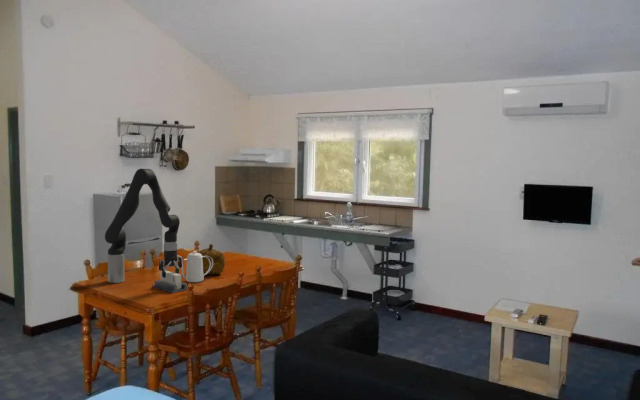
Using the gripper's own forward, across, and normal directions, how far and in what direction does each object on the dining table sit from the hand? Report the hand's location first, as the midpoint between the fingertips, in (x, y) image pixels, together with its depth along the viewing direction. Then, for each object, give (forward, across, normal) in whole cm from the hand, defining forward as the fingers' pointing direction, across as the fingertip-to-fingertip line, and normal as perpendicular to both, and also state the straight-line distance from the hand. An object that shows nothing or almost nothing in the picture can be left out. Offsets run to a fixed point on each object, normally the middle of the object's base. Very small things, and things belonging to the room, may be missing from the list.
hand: (170, 276), depth 305 cm
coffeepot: (+7, -20, -5) cm, 22 cm away
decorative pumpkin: (+7, -39, -14) cm, 42 cm away
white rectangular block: (+6, 0, 0) cm, 6 cm away
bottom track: (+7, 0, 0) cm, 7 cm away
